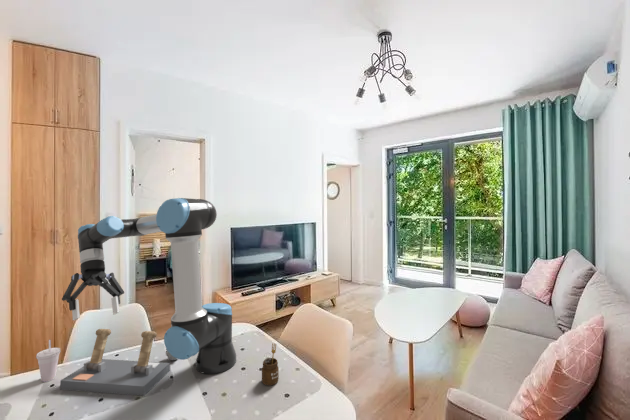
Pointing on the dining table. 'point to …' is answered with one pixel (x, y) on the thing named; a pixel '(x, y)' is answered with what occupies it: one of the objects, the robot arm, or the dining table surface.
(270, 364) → the utensil holder
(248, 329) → the dining table surface
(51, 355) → the smoothie
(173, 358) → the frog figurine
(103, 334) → the lever
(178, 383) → the dining table surface
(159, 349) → the dining table surface
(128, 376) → the switch unit
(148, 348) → the lever
